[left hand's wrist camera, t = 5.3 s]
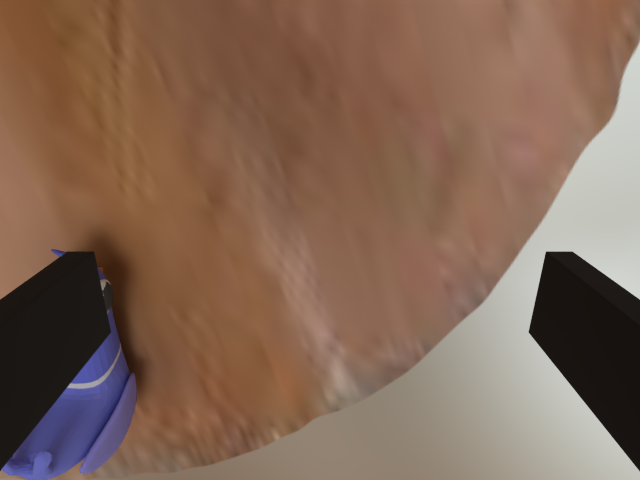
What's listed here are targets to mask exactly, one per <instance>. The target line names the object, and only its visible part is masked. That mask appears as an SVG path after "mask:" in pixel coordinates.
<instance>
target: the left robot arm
mask: <svg viewBox="0 0 640 480" xmlns="http://www.w3.org/2000/svg"><path fill="white" fill-rule="evenodd" d="M110 333H111V329H110V324H109V319H108V315H107V310H106V305H105V301H104V296H103V292H102V287H101V282H100V278H99V273H98V268H97V264H96V259H95V254H94V252H66V253H65V254H64V255H62V256H61V257H59V258H58V259H57V260H55V261H54V262H52V263H51V264H50V265H48V266H47V267H45V268H44V269H43V270H41V271H40V272H38V273H37V274H36V275H34V276H33V277H31V278H30V279H29V280H27V281H26V282H24V283H23V284H22V285H20V286H19V287H17V288H16V289H15V290H13V291H12V292H10V293H9V294H8V295H6V296H5V297H3V298H2V299H1V300H0V471H1V469H2V468H3V467H4V466H5V464H6V463H7V462H8V461H9V459H10V458H11V457H12V456H13V454H14V453H15V452H16V451H17V449H18V448H19V447H20V446H21V444H22V443H23V442H24V441H25V439H26V438H27V437H28V436H29V434H30V433H31V432H32V431H33V429H34V428H35V427H36V426H37V424H38V423H39V422H40V421H41V419H42V418H43V417H44V416H45V414H46V413H47V412H48V411H49V409H50V408H51V407H52V406H53V404H54V403H55V402H56V401H57V399H58V398H59V397H60V396H61V394H62V393H63V392H64V391H65V389H66V388H67V387H68V386H69V384H70V383H71V382H72V381H73V379H74V378H75V377H76V376H77V374H78V373H79V372H80V371H81V369H82V368H83V367H84V366H85V364H86V363H87V362H88V361H89V359H90V358H91V357H92V356H93V354H94V353H95V352H96V351H97V349H98V348H99V347H100V346H101V344H102V343H103V342H104V341H105V339H106V338H107V337H108V336H109V334H110ZM529 333H530V334H531V336H532V337H533V338H534V339H535V341H536V342H537V343H538V344H539V346H540V347H541V348H542V349H543V351H544V352H545V353H546V354H547V356H548V357H549V358H550V359H551V361H552V362H553V363H554V364H555V366H556V367H557V368H558V369H559V371H560V372H561V373H562V374H563V376H564V377H565V378H566V379H567V381H568V382H569V383H570V384H571V386H572V387H573V388H574V389H575V391H576V392H577V393H578V394H579V396H580V397H581V398H582V399H583V401H584V402H585V403H586V404H587V406H588V407H589V408H590V409H591V411H592V412H593V413H594V414H595V416H596V417H597V418H598V419H599V421H600V422H601V423H602V424H603V426H604V427H605V428H606V429H607V431H608V432H609V433H610V434H611V436H612V437H613V438H614V439H615V441H616V442H617V443H618V444H619V446H620V447H621V448H622V449H623V451H624V452H625V453H626V454H627V456H628V457H629V458H630V459H631V461H632V462H633V463H634V464H635V466H636V467H637V468H638V469H639V471H640V300H639V299H638V298H637V297H635V296H634V295H632V294H631V293H630V292H628V291H627V290H625V289H624V288H622V287H621V286H620V285H618V284H617V283H616V282H614V281H613V280H611V279H610V278H609V277H607V276H606V275H604V274H603V273H602V272H600V271H599V270H597V269H596V268H595V267H593V266H592V265H590V264H589V263H588V262H586V261H585V260H583V259H582V258H581V257H579V256H578V255H576V254H575V253H574V252H546V254H545V259H544V264H543V269H542V273H541V278H540V282H539V287H538V292H537V296H536V301H535V306H534V310H533V315H532V319H531V324H530V329H529Z"/></svg>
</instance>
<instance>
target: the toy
mask: <svg viewBox="0 0 640 480" xmlns="http://www.w3.org/2000/svg"><path fill="white" fill-rule="evenodd" d="M51 251H52V252H54V253H55V254H56V255H58V256H59V257H61V256H62V255H64V254H65V253H66V252H63V251H59V250H52V249H51ZM97 268H98V273H99V278H100V282H101V287H102V292H103V296H104V301H105V305H106V310H107V315H108V319H109V324H110V329H111V333H110V334H109V336H108V337H107V338H106V339H105V341H104V342H103V343H102V344H101V346H100V347H99V348H98V349H97V351H96V352H95V353H94V354H93V356H92V357H91V358H90V359H89V361H88V362H87V363H86V364H85V366H84V367H83V368H82V369H81V371H80V372H79V373H78V374H77V376H76V377H75V378H74V379H73V381H72V382H71V383H70V384H69V386H68V387H67V388H66V389H65V391H64V392H63V393H62V394H61V396H60V397H59V398H58V399H57V401H56V402H55V403H54V404H53V406H52V407H51V408H50V409H49V411H48V412H47V413H46V414H45V416H44V417H43V418H42V419H41V421H40V422H39V423H38V424H37V426H36V427H35V428H34V429H33V431H32V432H31V433H30V434H29V436H28V437H27V438H26V439H25V441H24V442H23V443H22V444H21V446H20V447H19V448H18V449H17V451H16V452H15V453H14V454H13V456H12V457H11V458H10V459H9V461H8V462H7V463H6V464H5V466H4V467H3V468H2V470H3V471H4V472H5V473H6V474H8V475H11V476H22V477H24V478H26V479H28V480H47V479H50V478H53V477H56V476H58V475H60V474H62V473H65V472H66V471H68V470H69V469H70V468H72V467H73V466H75V465H76V464H78V463H79V462H80V461H81V460H82V459H83V458H84V457H85V456H86V457H85V459H84V461H83V463H82V465H81V468H80V473H81V474H88V473H91V472H93V471H94V470H96V469H97V468H99V467H100V466H101V465H103V464H104V463H105V462H106V461H107V460H108V459H109V458H110V457H111V456H112V455H113V454H114V453H115V452H116V450H117V449H118V447H119V446H120V444H121V443H122V441H123V439H124V437H125V435H126V433H127V431H128V428H129V426H130V423H131V420H132V417H133V413H134V410H135V405H136V395H137V390H136V378H135V374H134V373H131V375H130V372H129V369H128V366H127V362H126V359H125V356H124V354H123V351H122V348H121V344H120V340H119V336H118V332H117V328H116V324H115V320H114V317H113V311H112V302H113V289H112V286H111V284H110V282H109V281H108V280H106V278H105V276H104V274H103V268H102V267H97Z"/></svg>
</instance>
